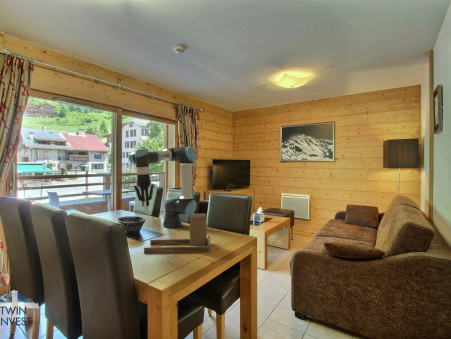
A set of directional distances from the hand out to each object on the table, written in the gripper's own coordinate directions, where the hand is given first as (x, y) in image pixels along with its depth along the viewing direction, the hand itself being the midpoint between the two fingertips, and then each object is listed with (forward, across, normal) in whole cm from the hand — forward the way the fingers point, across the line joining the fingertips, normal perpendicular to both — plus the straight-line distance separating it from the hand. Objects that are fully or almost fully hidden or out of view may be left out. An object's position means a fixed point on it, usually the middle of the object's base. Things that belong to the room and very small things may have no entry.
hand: (146, 211), depth 152 cm
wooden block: (+24, +31, 0) cm, 40 cm away
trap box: (+23, +19, -3) cm, 30 cm away
